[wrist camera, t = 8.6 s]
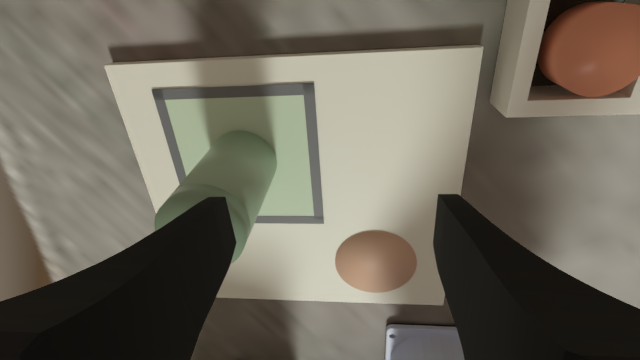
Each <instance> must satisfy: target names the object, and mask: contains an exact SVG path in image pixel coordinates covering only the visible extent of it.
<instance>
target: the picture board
mask: <svg viewBox="0 0 640 360" xmlns="http://www.w3.org/2000/svg"><path fill="white" fill-rule="evenodd" d="M483 48H484V47H482V46H480V45H461V46H441V47H420V48H400V49H380V50H359V51H339V52H318V53H298V54H278V55H257V56H237V57H216V58H196V59H176V60H155V61H135V62H114V63H110V64H107V65H104V67H105V70H106V73H107V76H108V78H109V81H110V84H111V87H112V90H113V93H114V95H115V98H116V101H117V104H118V107H119V110H120V112H121V115H122V118H123V121H124V124H125V127H126V129H127V132H128V135H129V138H130V141H131V144H132V146H133V149H134V152H135V155H136V158H137V161H138V163H139V166H140V169H141V172H142V175H143V178H144V180H145V183H146V186H147V189H148V192H149V195H150V197H151V200H152V203H153V206H154V209H155V212H156V214H157V212H158V210H159V208H160V207H161V206H162V205H163V204H164V202H165V201H166V200H167V199H168V198H169V197H170V195H171V194H172V193H173V192H174V191H175V190H176V188H177V187H178V186H179V185H180V184H181V182H182V181H183V180H184V179H185V178H186V177H187V175H188V174H189V173H190V172H191V171H192V169H193V168H194V167H195V166H196V165H197V164H198V162H199V161H200V160H201V159H202V158H203V157H204V155H205V154H206V153H207V152H208V151H209V149H210V148H211V147H212V146H213V145H214V144H215V142H216V141H217V140H218V139H219V138H220V137H221V136H222V135H224V134H226V133H228V132H231V131H248V132H251V133H254V134H256V135H258V136H260V137H261V138H263V139H264V140H265V141H266V142H267V143H268V144H269V145H270V146H271V148H272V149H273V151H274V153H275V156H276V160H277V169H276V173H275V175H274V178H273V180H272V182H271V185H270V187H269V190H268V192H267V194H266V197H265V199H264V202H263V204H262V206H261V209H260V211H259V214H258V216H257V218H256V221H255V223H254V225H253V228H252V230H251V233H250V235H249V237H248V240H247V242H246V245H245V247H244V249H243V252H242V254H241V255H240V257H239V258H238V259H237V260H236V261H234V262H233V263H231V264H230V267H229V269H228V272H227V274H226V276H225V278H224V280H223V283H222V285H221V287H220V289H219V291H218V294H217V296H216V298H243V299H272V300H301V301H330V302H359V303H388V304H417V305H443V304H444V297H445V292H444V289H443V286H442V282H441V279H440V276H439V273H438V269H437V264H436V259H435V253H434V248H433V237H434V228H435V218H436V209H437V199H438V194H458V195H461V189H462V182H463V176H464V170H465V163H466V157H467V150H468V144H469V138H470V131H471V125H472V118H473V112H474V106H475V99H476V93H477V87H478V80H479V74H480V67H481V61H482V55H483Z"/></svg>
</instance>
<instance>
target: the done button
mask: <svg viewBox="0 0 640 360" xmlns="http://www.w3.org/2000/svg"><path fill="white" fill-rule="evenodd" d="M537 59H538V65H539V68H540V70H541V72H542V73H543V75H544V76H545V77H546V78H547V79H549V80H550V81H552V82H554V83H556V84H558V85H560V86H562V87H563V88H565V89H567V90H569V91H571V92H573V93H575V94H577V95H581V96H585V97H599V96H604V95H608V94H611V93H614V92H616V91H618V90H620V89H622V88H624V87H626V86H627V85H629V84H630V83H632V82H633V81H634V80H635V79H637V78H638V77H639V76H640V6H639V5H636V4H628V3H617V2H605V1H589V2H584V3H580V4H578V5H575V6H573V7H571V8H569V9H567V10H566V11H564V12H563V13H562V14H560V15H559V16H558V17H557V18H556V19H555V20H554V21H553V22H552V23H551V24H550V25H549V26H548V28H547V29H546V31H545V32H544V34H543V36H542V39H541V44H540V48H539V52H538V57H537Z"/></svg>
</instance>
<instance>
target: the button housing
mask: <svg viewBox="0 0 640 360" xmlns="http://www.w3.org/2000/svg"><path fill="white" fill-rule="evenodd" d="M624 3H628V4H636V5H639V6H640V0H625V2H624ZM549 5H550V0H507V5H506V11H505V16H504V22H503V28H502V33H501V39H500V45H499V50H498V56H497V62H496V67H495V73H494V78H493V84H492V90H491V95H490V101H489V102H490V103H491V104H492V105H493V106H494V107H495V108H496V109H497V110H498V111H499V112H500V113H501V114H502V115H504V116H505V117H506V118H515V117H554V116H593V115H632V114H640V76H639V77H638V78H637V79H635V80H634V81H633V82H632V83H630V84H629V85H627V86H626V87H624V88H622V89H620V90H618V91H616V92H614V93H611V94H608V95H604V96H599V97H585V96H581V95H577V94H575V93H573V92H571V91H569V90H567V89H565V88H563V87H562V86H560V85H547V86H531V83H532V78H533V74H534V70H535V65H536V61H537V57H538V52H539V48H540V44H541V39H542V35H543V31H544V26H545V22H546V18H547V13H548V9H549Z"/></svg>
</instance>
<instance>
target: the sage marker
mask: <svg viewBox="0 0 640 360" xmlns="http://www.w3.org/2000/svg"><path fill="white" fill-rule="evenodd" d="M276 169H277V160H276V156H275V153H274V151H273V149H272V148H271V146H270V145H269V144H268V143H267V142H266V141H265V140H264V139H263V138H261V137H260V136H258V135H256V134H254V133H251V132H248V131H231V132H228V133H226V134H224V135H222V136H221V137H220V138H219V139H218V140H217V141H216V142H215V144H214V145H213V146H212V147H211V148H210V149H209V151H208V152H207V153H206V154H205V155H204V157H203V158H202V159H201V160H200V161H199V162H198V164H197V165H196V166H195V167H194V168H193V169H192V171H191V172H190V173H189V174H188V175H187V177H186V178H185V179H184V180H183V181H182V182H181V184H180V185H179V186H178V187H177V188H176V190H175V191H174V192H173V193H172V194H171V195H170V197H169V198H168V199H167V200H166V201H165V202H164V204H163V205H162V206H161V207H160V208H159V210H158V212H157V214H156V216H155V231H157V230H158V229H160V228H161V227H163V226H164V225H166V224H167V223H169V222H170V221H172V220H173V219H175V218H176V217H178V216H179V215H181V214H182V213H184V212H185V211H187V210H188V209H190V208H191V207H193V206H194V205H196V204H197V203H199V202H201V201H202V200H204V199H206V198H208V197H226V201H227V205H228V210H229V214H230V218H231V222H232V226H233V230H234V234H235V238H236V242H237V243H236V247H235V250H234V254H233V257H232V260H231V263H233V262H234V261H236V260H237V259H238V258H239V257H240V255H241V254H242V252H243V249H244V247H245V245H246V242H247V240H248V237H249V235H250V233H251V230H252V228H253V225H254V223H255V221H256V218H257V216H258V214H259V211H260V209H261V206H262V204H263V202H264V199H265V197H266V194H267V192H268V190H269V187H270V185H271V182H272V180H273V178H274V175H275V173H276Z"/></svg>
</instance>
